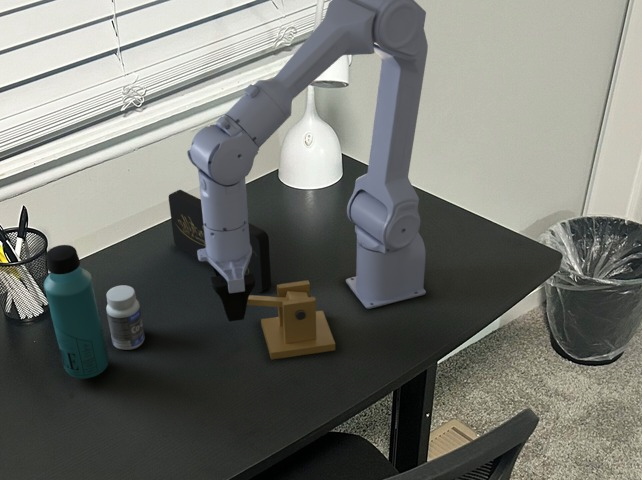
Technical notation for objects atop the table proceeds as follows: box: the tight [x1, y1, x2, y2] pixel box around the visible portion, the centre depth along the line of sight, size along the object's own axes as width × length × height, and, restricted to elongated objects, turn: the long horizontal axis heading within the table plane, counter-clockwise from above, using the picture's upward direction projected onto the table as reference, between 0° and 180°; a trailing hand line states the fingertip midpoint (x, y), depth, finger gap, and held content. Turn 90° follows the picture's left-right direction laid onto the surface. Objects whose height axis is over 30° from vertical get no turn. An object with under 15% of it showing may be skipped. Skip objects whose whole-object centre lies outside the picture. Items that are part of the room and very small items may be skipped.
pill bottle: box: [105, 284, 146, 351], centre depth 129 cm, size 5×5×8 cm
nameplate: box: [168, 189, 272, 293], centre depth 142 cm, size 21×2×10 cm, turn 41°
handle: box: [247, 291, 308, 308], centre depth 125 cm, size 11×5×2 cm, turn 98°
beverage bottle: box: [43, 244, 110, 379], centre depth 121 cm, size 6×7×20 cm
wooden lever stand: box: [260, 279, 336, 360], centre depth 127 cm, size 9×8×8 cm
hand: (233, 306), depth 125 cm, fingers closed on handle, 5 cm apart
